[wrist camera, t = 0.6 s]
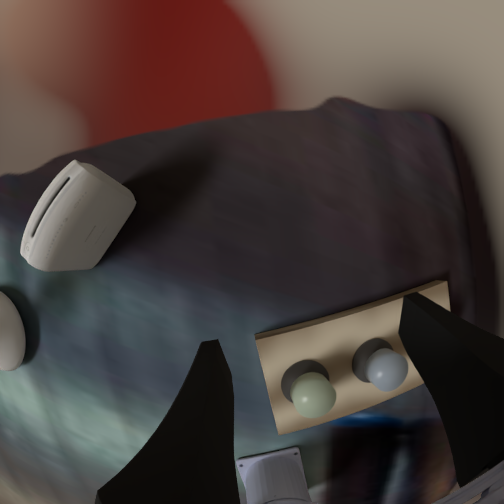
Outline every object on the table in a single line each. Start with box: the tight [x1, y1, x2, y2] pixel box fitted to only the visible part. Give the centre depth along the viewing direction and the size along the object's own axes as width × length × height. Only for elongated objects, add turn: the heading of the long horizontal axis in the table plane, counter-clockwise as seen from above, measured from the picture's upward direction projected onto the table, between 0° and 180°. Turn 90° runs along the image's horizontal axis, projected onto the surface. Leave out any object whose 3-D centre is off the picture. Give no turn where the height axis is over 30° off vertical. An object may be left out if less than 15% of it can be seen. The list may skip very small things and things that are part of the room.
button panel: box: [254, 280, 450, 435], centre depth 31 cm, size 12×24×3 cm, turn 103°
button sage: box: [290, 372, 337, 418], centre depth 26 cm, size 4×4×2 cm
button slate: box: [365, 348, 408, 392], centre depth 26 cm, size 4×4×2 cm
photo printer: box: [21, 160, 136, 272], centre depth 25 cm, size 10×4×12 cm, turn 143°
